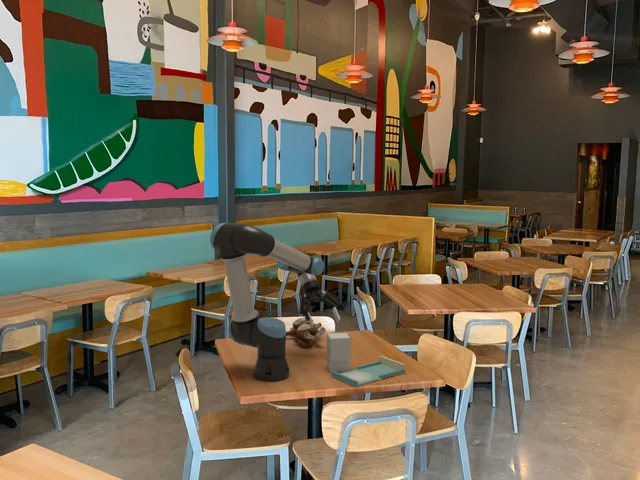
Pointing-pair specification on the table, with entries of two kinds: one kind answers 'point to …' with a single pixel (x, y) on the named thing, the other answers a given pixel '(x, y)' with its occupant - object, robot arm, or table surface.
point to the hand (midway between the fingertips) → (325, 323)
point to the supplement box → (338, 352)
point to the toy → (305, 331)
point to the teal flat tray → (371, 372)
